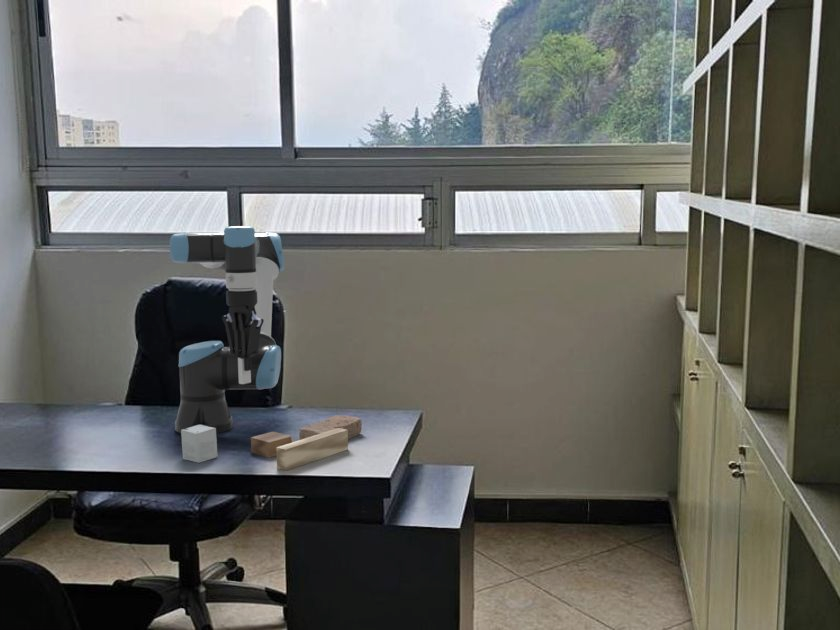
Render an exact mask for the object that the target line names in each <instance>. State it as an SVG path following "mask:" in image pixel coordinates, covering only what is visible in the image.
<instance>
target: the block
mask: <svg viewBox="0 0 840 630" xmlns="http://www.w3.org/2000/svg"><path fill="white" fill-rule="evenodd" d="M292 438H293V437H292V435H288V434H285V433H280V432H278V431H270V432H266V433H262V434H258V435H254V436H251V437H250V447H251V448H250V449H251V450H250V451H251V453H253V454H256V455H259V456H263V457H267V458H269V459H270V458H273V457H277V453H276V447H279V446H282V445H286V444H289V443H292V442H293V440H292Z"/></svg>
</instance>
